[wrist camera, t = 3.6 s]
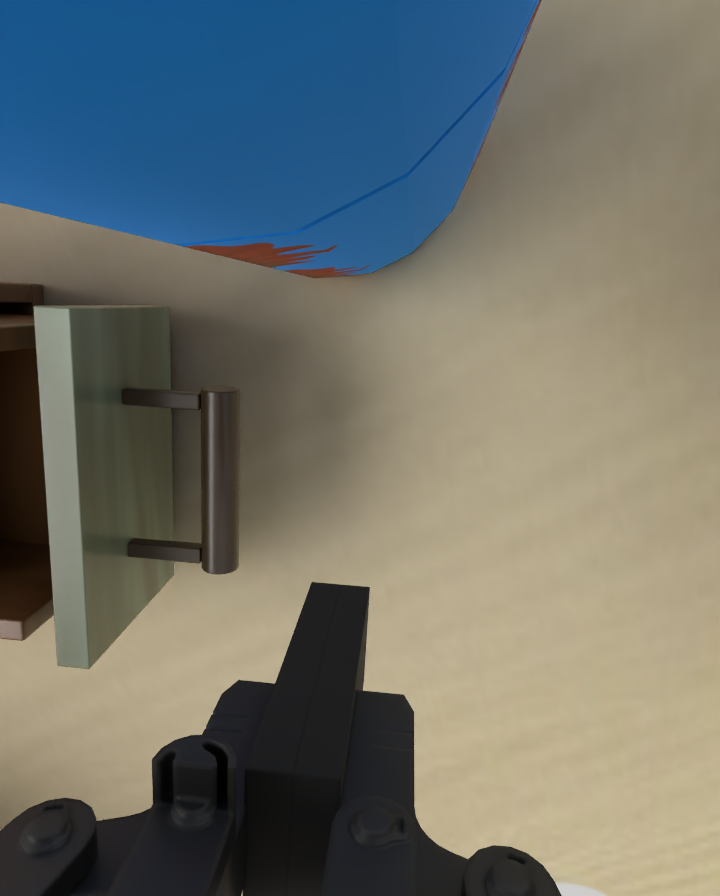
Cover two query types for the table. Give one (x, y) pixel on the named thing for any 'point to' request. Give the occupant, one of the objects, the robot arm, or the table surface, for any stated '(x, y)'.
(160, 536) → the drawer
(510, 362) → the table surface
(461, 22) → the thermos
